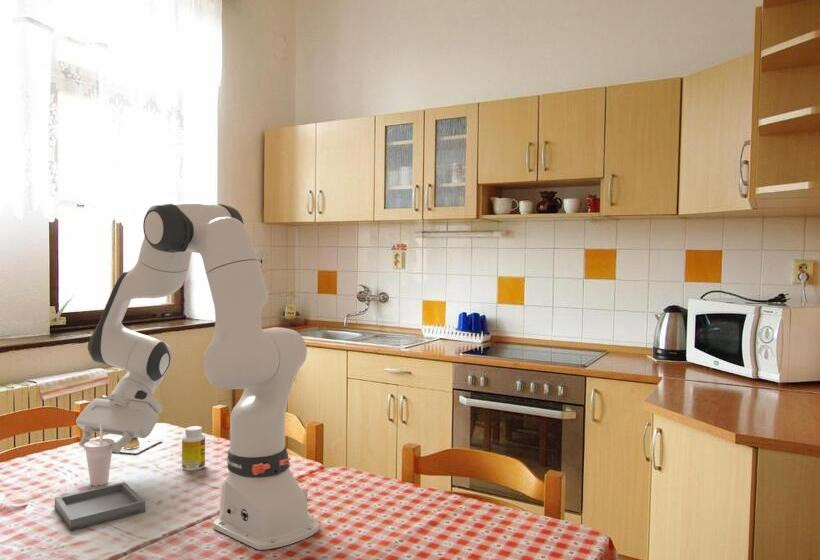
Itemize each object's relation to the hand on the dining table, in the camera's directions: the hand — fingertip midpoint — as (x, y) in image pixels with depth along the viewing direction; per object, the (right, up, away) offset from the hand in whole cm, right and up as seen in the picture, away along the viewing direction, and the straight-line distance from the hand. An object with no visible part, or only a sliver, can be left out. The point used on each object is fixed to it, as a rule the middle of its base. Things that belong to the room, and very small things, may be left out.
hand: (98, 448), depth 140 cm
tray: (+8, -9, -14) cm, 18 cm away
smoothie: (0, -8, +1) cm, 8 cm away
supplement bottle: (+18, -8, +12) cm, 23 cm away
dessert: (-5, -8, +27) cm, 29 cm away
